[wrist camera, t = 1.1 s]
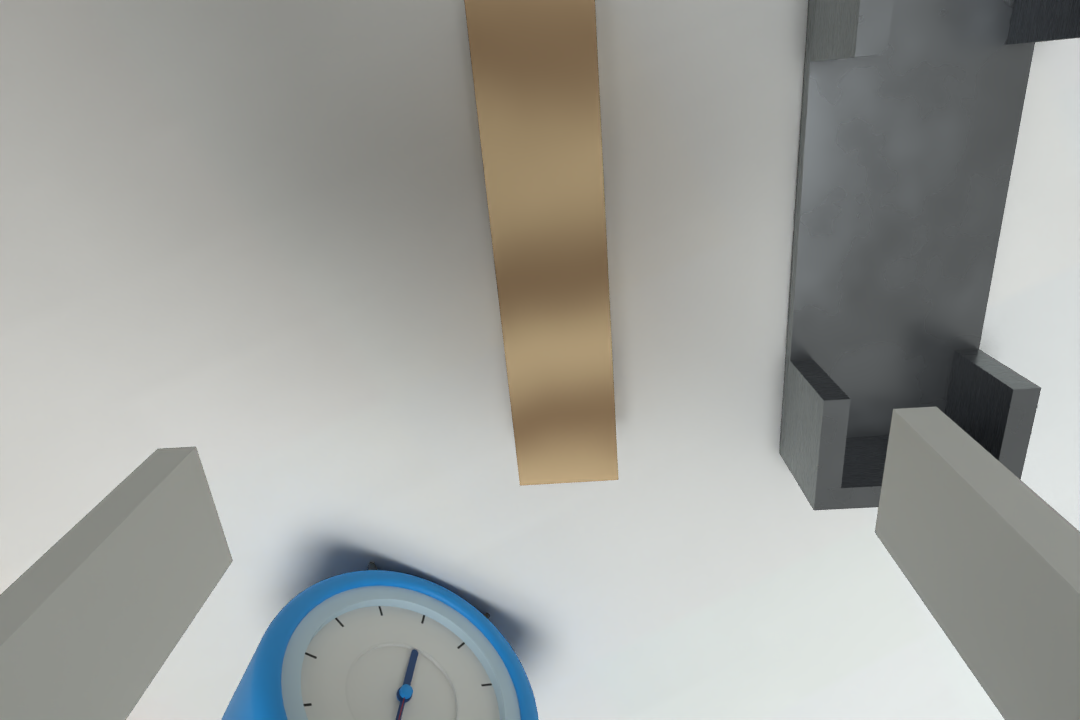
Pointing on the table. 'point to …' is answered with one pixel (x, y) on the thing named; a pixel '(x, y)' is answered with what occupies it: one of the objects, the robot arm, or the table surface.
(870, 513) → the table surface
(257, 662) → the alarm clock
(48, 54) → the table surface
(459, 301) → the table surface
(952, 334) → the gray cradle tray
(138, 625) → the robot arm
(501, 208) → the long wooden block
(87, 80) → the table surface
